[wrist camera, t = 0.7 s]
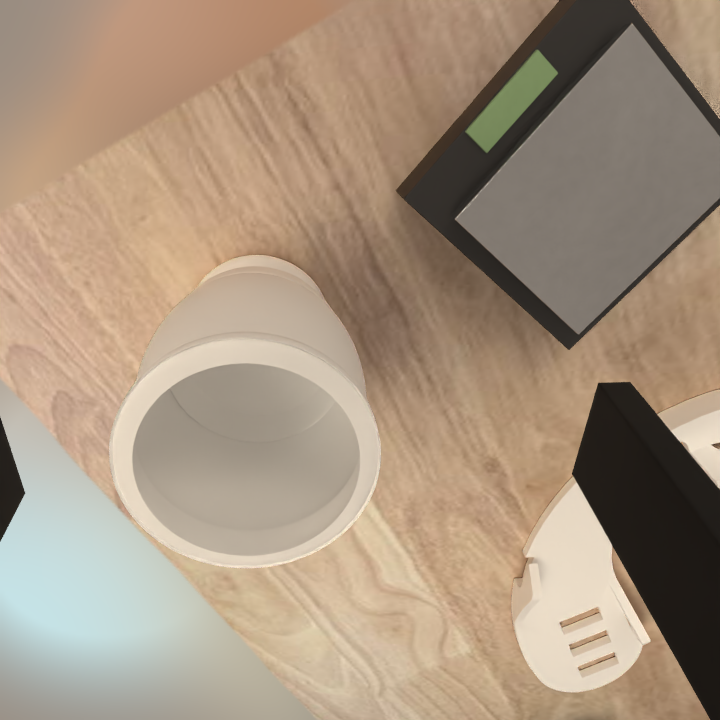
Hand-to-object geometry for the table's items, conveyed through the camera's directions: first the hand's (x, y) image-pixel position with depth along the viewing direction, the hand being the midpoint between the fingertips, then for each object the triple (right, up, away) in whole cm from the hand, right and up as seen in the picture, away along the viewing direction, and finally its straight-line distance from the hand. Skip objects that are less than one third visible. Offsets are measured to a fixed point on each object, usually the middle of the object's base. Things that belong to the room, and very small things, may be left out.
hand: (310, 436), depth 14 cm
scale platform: (+14, +11, +19) cm, 26 cm away
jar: (-5, +4, +23) cm, 24 cm away
